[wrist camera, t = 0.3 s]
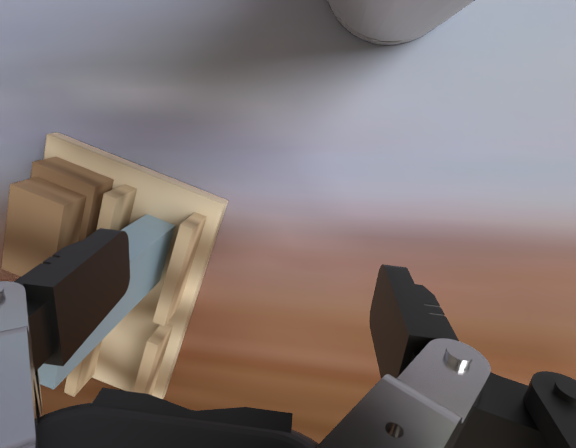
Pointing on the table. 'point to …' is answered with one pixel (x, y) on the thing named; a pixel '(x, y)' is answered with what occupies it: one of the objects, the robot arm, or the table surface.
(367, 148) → the table surface
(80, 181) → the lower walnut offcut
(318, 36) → the table surface
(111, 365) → the maple rack
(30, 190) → the upper walnut offcut
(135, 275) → the slate-blue rectangular block
